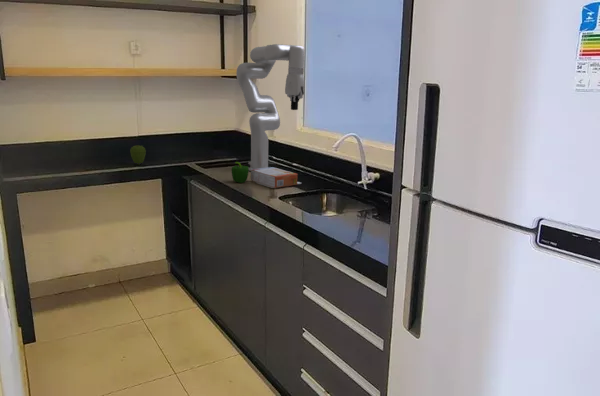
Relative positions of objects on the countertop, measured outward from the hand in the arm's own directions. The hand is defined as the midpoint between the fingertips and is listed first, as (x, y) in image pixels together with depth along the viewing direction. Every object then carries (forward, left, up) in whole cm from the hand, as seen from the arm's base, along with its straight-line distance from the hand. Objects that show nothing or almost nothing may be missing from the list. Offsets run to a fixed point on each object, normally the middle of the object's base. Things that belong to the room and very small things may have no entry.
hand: (294, 109), depth 254 cm
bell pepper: (-12, -24, -36) cm, 45 cm away
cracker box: (+11, -13, -33) cm, 37 cm away
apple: (-82, -46, -36) cm, 100 cm away
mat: (+1, -10, -36) cm, 37 cm away
